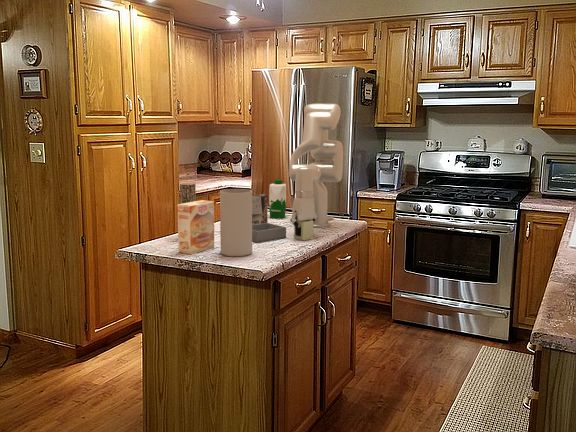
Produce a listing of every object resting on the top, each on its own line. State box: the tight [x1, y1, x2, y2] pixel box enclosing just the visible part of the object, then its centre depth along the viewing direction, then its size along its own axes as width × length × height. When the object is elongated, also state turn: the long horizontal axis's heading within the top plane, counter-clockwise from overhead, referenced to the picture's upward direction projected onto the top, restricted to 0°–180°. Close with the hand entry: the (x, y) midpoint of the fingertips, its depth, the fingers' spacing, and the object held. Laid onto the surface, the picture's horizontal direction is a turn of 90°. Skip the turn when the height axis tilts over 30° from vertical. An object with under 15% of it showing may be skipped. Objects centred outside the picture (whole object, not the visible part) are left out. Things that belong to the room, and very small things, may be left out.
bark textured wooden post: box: [179, 181, 197, 204], centre depth 252 cm, size 7×7×25 cm
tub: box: [252, 222, 287, 244], centre depth 255 cm, size 16×13×5 cm
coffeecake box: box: [176, 199, 215, 255], centre depth 231 cm, size 15×7×20 cm, turn 148°
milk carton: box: [268, 179, 287, 220], centre depth 306 cm, size 9×9×20 cm
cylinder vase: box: [219, 188, 253, 258], centre depth 225 cm, size 12×12×25 cm
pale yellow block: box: [293, 220, 314, 241], centre depth 254 cm, size 6×6×8 cm
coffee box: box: [252, 193, 269, 225], centre depth 278 cm, size 9×6×16 cm
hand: (303, 234), depth 255 cm, fingers closed on pale yellow block, 6 cm apart
